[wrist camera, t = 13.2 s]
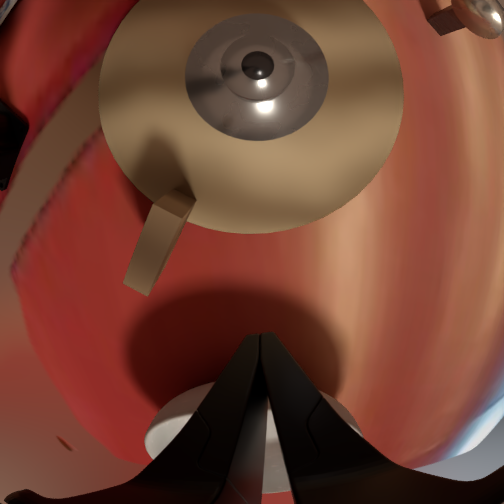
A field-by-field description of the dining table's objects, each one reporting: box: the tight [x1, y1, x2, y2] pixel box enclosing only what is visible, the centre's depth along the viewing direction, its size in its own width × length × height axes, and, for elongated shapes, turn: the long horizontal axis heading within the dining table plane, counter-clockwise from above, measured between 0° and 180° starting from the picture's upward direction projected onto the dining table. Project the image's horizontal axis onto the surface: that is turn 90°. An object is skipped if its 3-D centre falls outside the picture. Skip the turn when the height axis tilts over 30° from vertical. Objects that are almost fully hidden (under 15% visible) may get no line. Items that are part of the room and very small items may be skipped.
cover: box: [185, 13, 329, 141], centre depth 12 cm, size 7×7×4 cm
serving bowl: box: [144, 382, 364, 493], centre depth 24 cm, size 21×21×7 cm
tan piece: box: [98, 0, 404, 296], centre depth 13 cm, size 21×19×5 cm
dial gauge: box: [427, 0, 504, 39], centre depth 9 cm, size 4×3×8 cm
